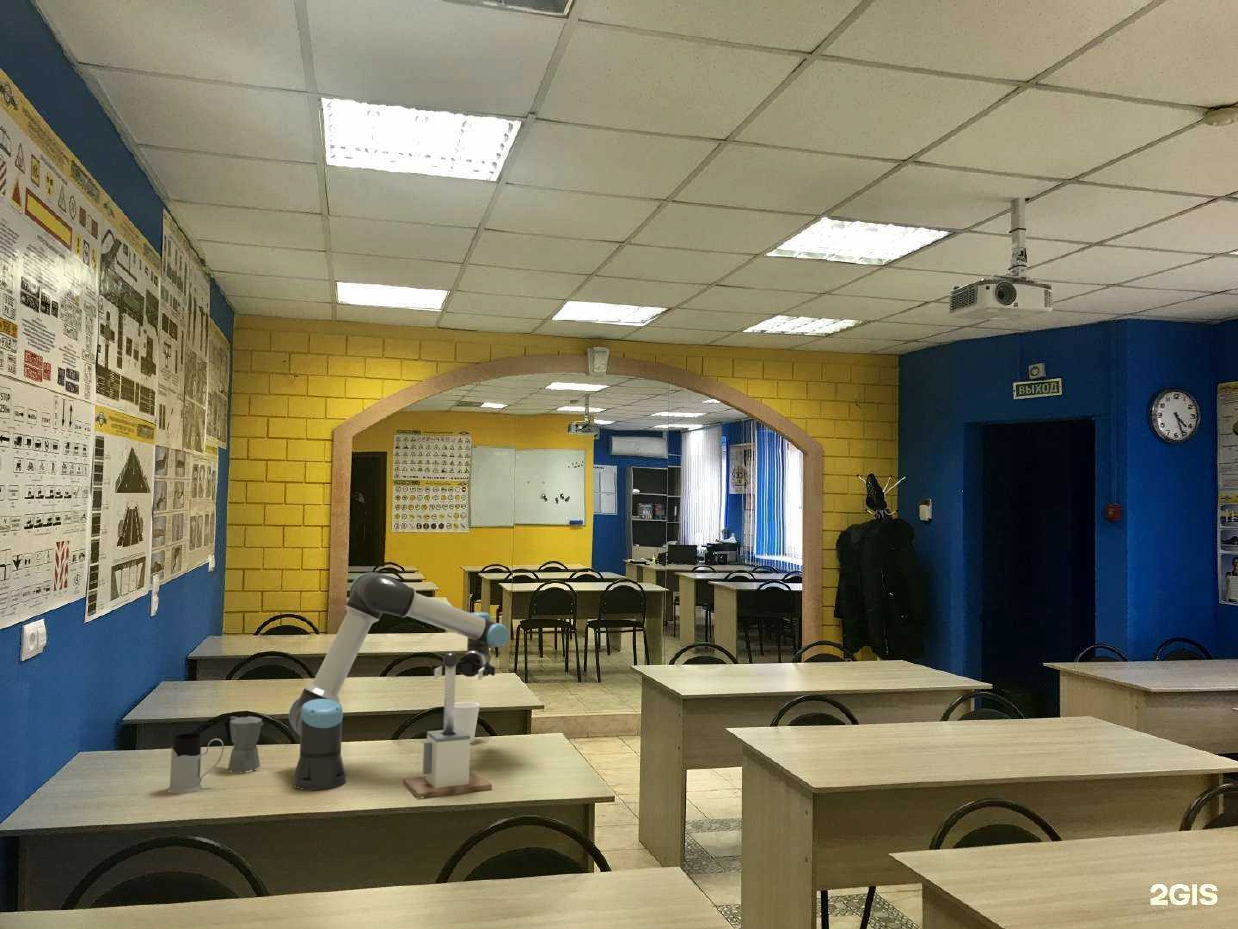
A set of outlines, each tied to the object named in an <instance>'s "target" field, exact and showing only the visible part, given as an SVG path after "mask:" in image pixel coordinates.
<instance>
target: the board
mask: <svg viewBox="0 0 1238 929" xmlns="http://www.w3.org/2000/svg"><path fill="white" fill-rule="evenodd" d="M402 785H403V786H404V785H405V786H406V787H407V788H408V789H409V790H408V789H407V788H406V787H405V786H404V787H405V788H406V789H407V790H408V791H411V792H412V793H413V794H414V795H415V796H416V797H417V798H421V797H430V798H435V797H434V796H438V797H444V796H445V795H446V796H452V795H453V794H454V795H459V794H460V793H461V794H467V793H468V794H469V793H475V792H474V791H477V792H484V791H491V790H492V788H493V785H492V783H491V782H489V781H488V780H487V779H485V777H483V776H481V775H480V774H479V773H477V771H475V770H469V784H466V785H458V786H450V787H442V788H435V787H434V786H433V785H431V784H430V783H429V782H428V781H427V780H426V775H425V776H417V777H407V778H402ZM411 792H410V793H411ZM412 793H411V794H412ZM413 794H412V795H413ZM414 795H413V796H414ZM415 796H414V797H415ZM416 797H415V798H416ZM417 798H416V799H417Z"/></svg>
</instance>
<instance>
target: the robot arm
mask: <svg viewBox="0 0 1238 929" xmlns="http://www.w3.org/2000/svg"><path fill="white" fill-rule="evenodd" d="M345 608H346V614H345V617H344V619H343V621H341V622H342V623H341V625H340V627H339V628H338V631H337V633H336V634H335V637H334V639H333V641H332V643H331V644H330V647H329V649H328V651H327V652H326V655H325V657H324V659H323V661H322V664H321V665H320V667H319V668H318V669H319V670H318V671H317V673H316V675H315V677H314V679H313V682H312V683H311V684H309V685H306V686H304V688H303V690H302V691H301V692H302V693H301V694H300V697H298V698H297V699H296V700H294V702H293V703H292V704H291V706H290V708H289V710H288V711H289V712H288V720H289V725H290V726H291V729H292V730H293V731H294V732H295V733H296V734H297V735H299V737H300V743H299V745H300V746H299V758H298V761H297V763H296V767H295V770H294V772H293V774H292V775H293V776H292V783H293V785H294V786H296V787H299V788H303V789H302V790H305V789H312V790H311V791H318V790H319V789H321V790H328V788H329V789H333V787H334V788H337V787H340V786H342V785H344V784H345V783H346V782H347V773H346V771H347V770H346V769H345V765H344V762H343V758H342V735H343V734H342V733H343V718H344V713H343V706H342V704H341V703H340V702H341V700H340V697H339V692H340V691H341V689H342V687H343V685H344V683H345V682H346V679H347V677H348V674H349V672H350V670H351V668H352V666H353V664H354V662H355V660H356V658H357V657H358V653H359V652H360V649H361V648H362V646H363V643H364V641H365V639H366V637H367V635H368V634H369V631H370V630H371V627H372V625H373V624H374V623H376V622H379V621H380V619H381V617H382V615H383V614H388V615H389V614H390V615H392V616H397V617H399V618H405V617H410V618H412V619H415V620H418V621H421V622H424V623H427V624H429V625H432V626H434V627H438V628H439V629H444V630H446V631H449V632H452V633H455V634H457V635H460V636H462V637H466V638H467V642H466V643H467V644H466V646H467V648H466V653H465V654H464V655H463V656H461V657H460V658H459V660H458V663H457V665H456V671H455V674H462V675H463V676H465V677H469V678H472V677H475V676H478V677H477V679H478V680H479V681H481V680H482V679H483V678H485V677H487V676H492V677H494V676H495V675H496V667H495V666H493V665H491V664H490V662H491V660H492V654H491V651H490V647H493V648H499V647H503V646H505V644H507V642H508V640H509V637H510V632H509V629H508V628H507V627H506V625H504V624H502V623H499V622H495V621H492V620H491V615H490V612H489V613H488V612H479V611H478V612H470V611H469V612H468V611H466V610H463V609H460V608H458V607H455V606H453V605H449V604H448V603H445V602H441V601H439V600H436V599H433V598H431V597H429V596H426V595H423V594H420V593H418V592H416V589H415V588H413V587H410V586H408V585H406V584H404V583H401V582H400V581H398V580H396V579H394V578H393V577H391V576H390V575H389V576H388V575H386V574H382V573H379V572H366V573H363V574H360V575H358V576H357V577H356V578H355V579H354V580H353V581H352V583H351V585H350V588H349V598H348V600H347V602H346V603H345ZM430 672H431V673H430V674H431V675H433V676H434V679H435V680H436V679H438V678H440V677H441V676H443V675H445V664H444V662H443V663H437V664H434V665H433V664H432V665H431V671H430ZM293 785H292V786H293ZM294 786H293V787H294ZM296 787H295V788H296ZM299 788H298V789H299ZM313 789H315V790H313ZM317 789H318V790H317Z"/></svg>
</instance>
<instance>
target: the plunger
mask: <svg viewBox="0 0 1238 929" xmlns="http://www.w3.org/2000/svg"><path fill="white" fill-rule="evenodd" d="M442 662H443V663H444V664H445V674H444V697H443V699H444V701H443V704H444V705H443V729H442V730H443V735H444V736H446V735H454V705H455V703H456V702H455V701H456V699H455V696H456V673H455V671H456V665H457V663H458V662H459V657H458V655H457V654H456V653H455V652H452V651H451V652H447V653H446V654H445V655H444V656H443V660H442Z"/></svg>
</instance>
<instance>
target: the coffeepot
mask: <svg viewBox="0 0 1238 929" xmlns="http://www.w3.org/2000/svg"><path fill="white" fill-rule="evenodd" d="M249 713H250V710H243V716H241V717H238V716H233V715H232V716H231V715H229V716H228V715H227V717H226V718H225V719H224V721H223V726H224V731H225V735H226V739H227V743H229V744H233V748H232V749H231V753H230V758H229V762H228V763H229V764H228V767H227V770H228V771H229V770H230V771H232V772H246V771H250V770H255V769H257V768H258V767H260V768H261V764H260V758H259V749H258V747H257V743H258V741H259V740H260V733H261V728H262V726H263V725H264V722H263V719H262V718H260V717H258V716H256V717H255V716H251V715H250V716H249ZM230 771H229V772H230ZM232 772H231V773H232Z"/></svg>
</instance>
